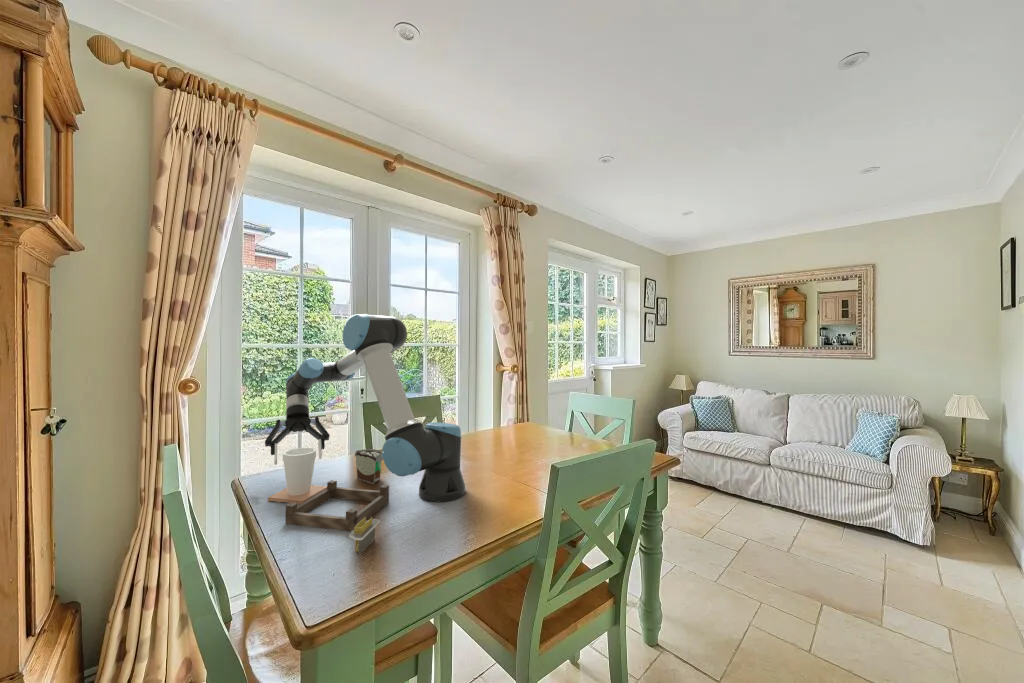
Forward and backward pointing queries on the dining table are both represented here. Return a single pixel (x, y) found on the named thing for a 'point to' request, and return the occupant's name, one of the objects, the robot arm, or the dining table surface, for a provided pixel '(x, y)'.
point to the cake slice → (368, 465)
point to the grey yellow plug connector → (364, 533)
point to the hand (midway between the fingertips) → (298, 459)
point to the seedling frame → (303, 518)
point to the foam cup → (299, 469)
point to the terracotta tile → (298, 499)
